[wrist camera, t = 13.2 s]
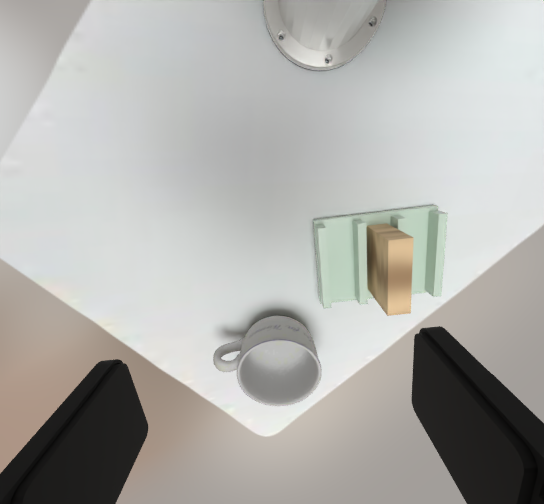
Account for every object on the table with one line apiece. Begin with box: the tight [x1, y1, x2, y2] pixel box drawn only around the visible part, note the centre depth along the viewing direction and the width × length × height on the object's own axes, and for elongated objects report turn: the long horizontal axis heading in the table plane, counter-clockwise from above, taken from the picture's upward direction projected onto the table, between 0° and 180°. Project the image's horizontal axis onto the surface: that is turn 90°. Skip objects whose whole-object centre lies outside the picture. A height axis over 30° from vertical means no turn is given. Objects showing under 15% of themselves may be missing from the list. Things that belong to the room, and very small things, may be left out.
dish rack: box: [313, 205, 448, 308], centre depth 36 cm, size 12×16×3 cm
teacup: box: [213, 316, 321, 406], centre depth 38 cm, size 14×11×8 cm
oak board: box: [367, 223, 414, 316], centre depth 33 cm, size 9×3×7 cm, turn 7°
